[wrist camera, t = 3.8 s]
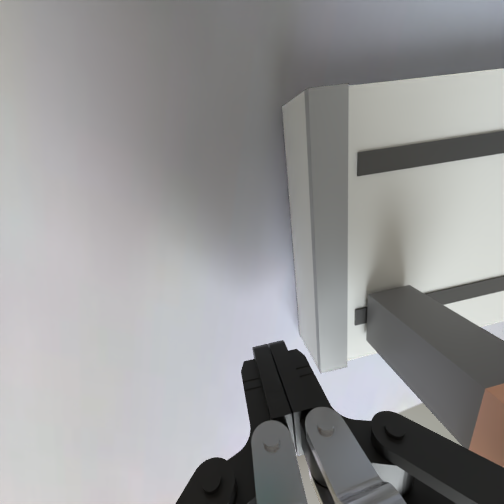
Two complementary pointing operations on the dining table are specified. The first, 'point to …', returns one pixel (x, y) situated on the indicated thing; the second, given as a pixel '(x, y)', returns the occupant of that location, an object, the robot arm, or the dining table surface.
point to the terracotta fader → (443, 364)
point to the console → (395, 202)
